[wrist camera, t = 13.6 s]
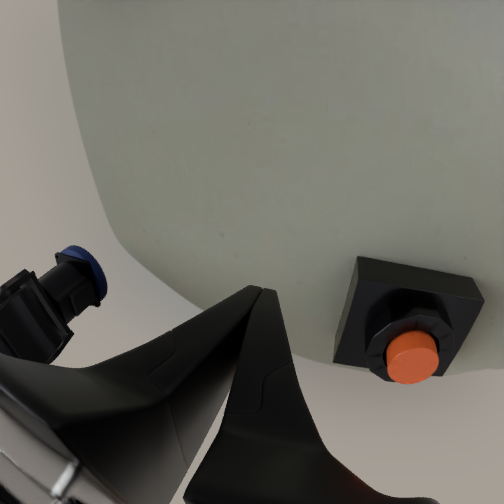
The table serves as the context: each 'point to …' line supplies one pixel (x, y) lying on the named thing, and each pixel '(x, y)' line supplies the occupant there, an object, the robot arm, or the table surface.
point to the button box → (403, 313)
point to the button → (412, 357)
